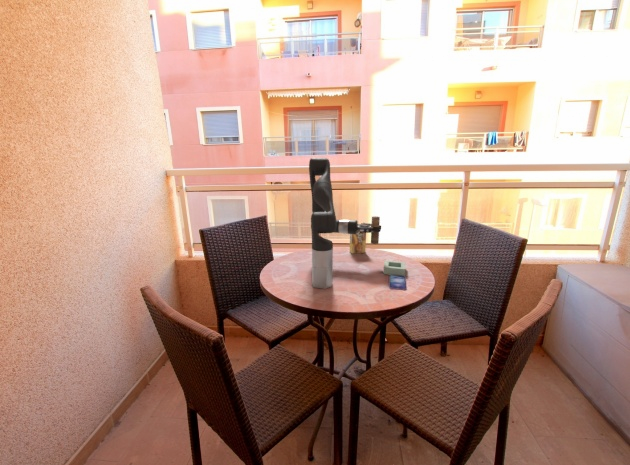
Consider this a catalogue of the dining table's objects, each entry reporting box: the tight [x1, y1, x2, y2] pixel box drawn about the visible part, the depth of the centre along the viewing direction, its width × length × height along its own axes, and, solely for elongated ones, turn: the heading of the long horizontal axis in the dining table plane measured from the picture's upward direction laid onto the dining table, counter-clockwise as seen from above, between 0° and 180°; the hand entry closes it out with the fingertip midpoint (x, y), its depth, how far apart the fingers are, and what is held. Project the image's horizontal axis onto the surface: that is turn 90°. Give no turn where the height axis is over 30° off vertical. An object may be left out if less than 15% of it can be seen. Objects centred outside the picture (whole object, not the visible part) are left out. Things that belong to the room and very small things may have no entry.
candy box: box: [349, 231, 367, 254], centre depth 174 cm, size 9×4×15 cm, turn 103°
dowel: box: [370, 215, 381, 245], centre depth 153 cm, size 4×4×14 cm
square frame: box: [383, 260, 406, 277], centre depth 146 cm, size 10×10×4 cm
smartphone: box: [388, 274, 407, 291], centre depth 134 cm, size 7×1×15 cm
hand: (380, 228), depth 152 cm, fingers closed on dowel, 4 cm apart
